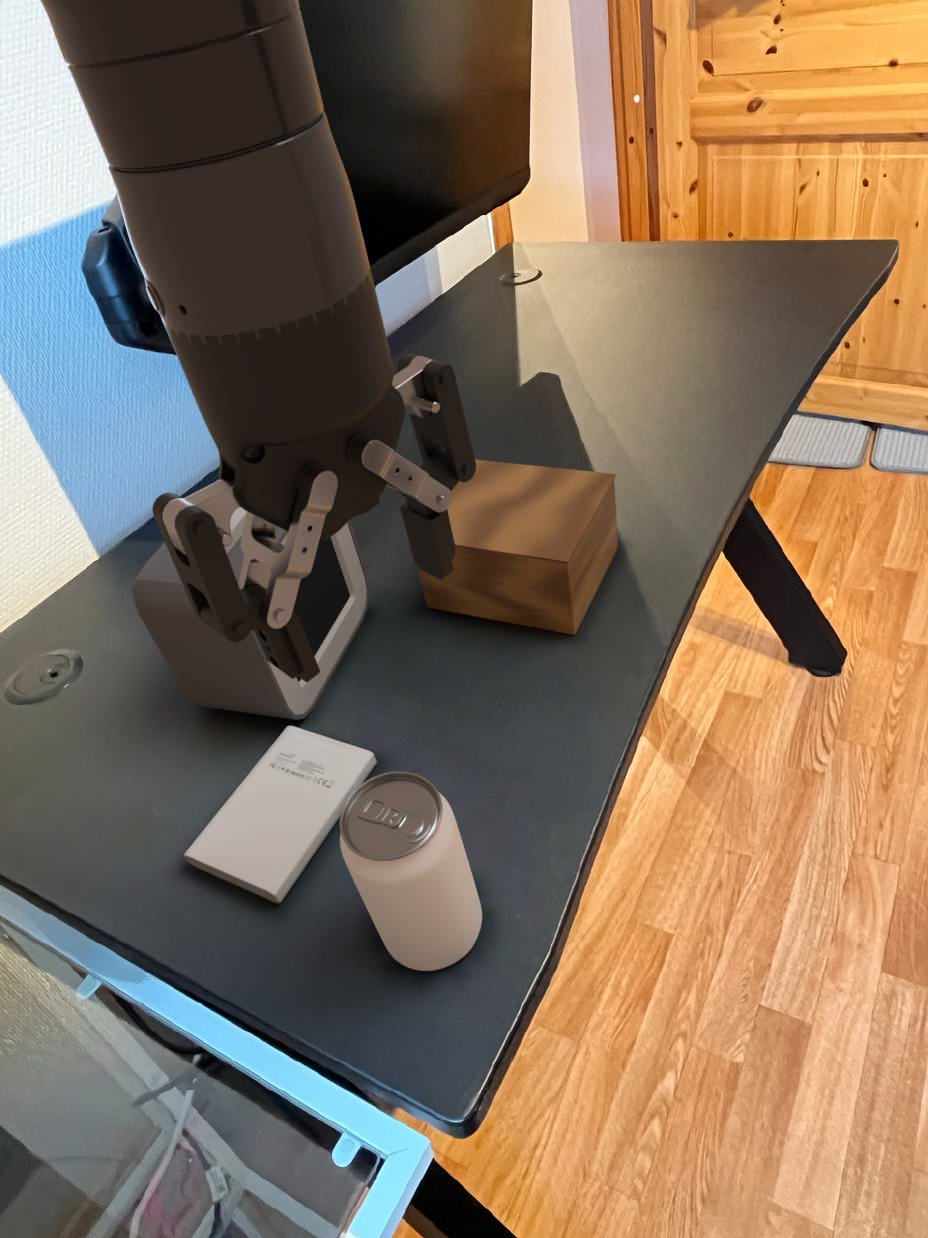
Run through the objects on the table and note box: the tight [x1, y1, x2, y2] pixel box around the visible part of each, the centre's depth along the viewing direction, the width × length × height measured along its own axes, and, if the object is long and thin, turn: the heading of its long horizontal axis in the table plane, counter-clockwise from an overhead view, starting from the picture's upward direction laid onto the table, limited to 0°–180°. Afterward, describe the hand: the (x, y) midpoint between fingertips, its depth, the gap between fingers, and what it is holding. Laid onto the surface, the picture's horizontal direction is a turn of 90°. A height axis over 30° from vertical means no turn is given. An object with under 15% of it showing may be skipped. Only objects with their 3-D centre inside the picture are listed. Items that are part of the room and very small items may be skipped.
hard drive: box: [183, 725, 378, 905], centre depth 61 cm, size 2×8×12 cm
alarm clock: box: [131, 507, 371, 721], centre depth 69 cm, size 16×11×16 cm
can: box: [339, 770, 483, 972], centre depth 49 cm, size 6×6×12 cm
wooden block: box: [406, 459, 619, 636], centre depth 74 cm, size 14×12×8 cm
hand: (372, 618), depth 40 cm, fingers open, 8 cm apart
